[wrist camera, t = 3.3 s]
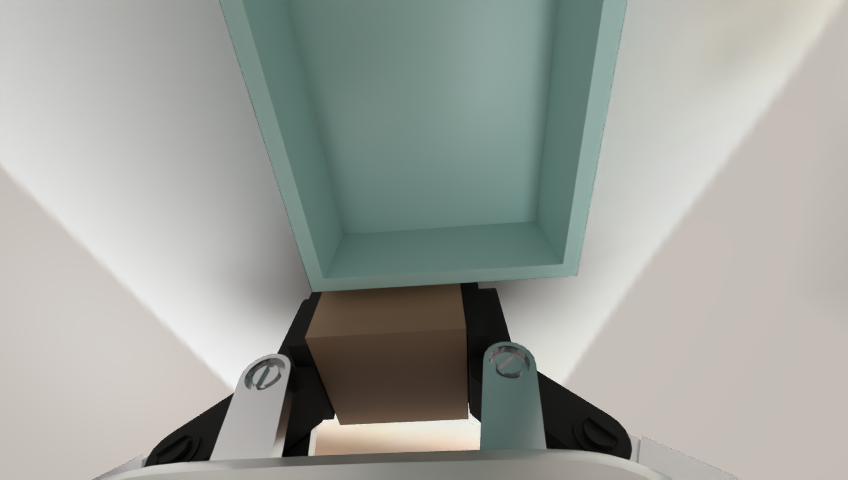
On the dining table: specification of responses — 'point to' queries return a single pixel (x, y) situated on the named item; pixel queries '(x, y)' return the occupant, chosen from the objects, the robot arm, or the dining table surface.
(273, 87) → the tote
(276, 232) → the dining table surface
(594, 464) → the robot arm
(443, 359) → the walnut cube
